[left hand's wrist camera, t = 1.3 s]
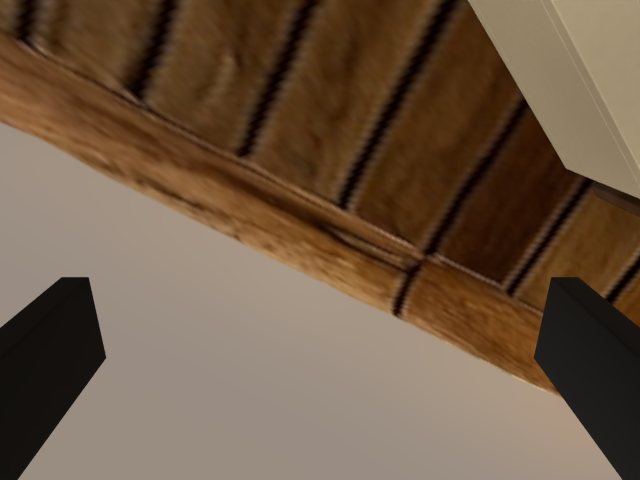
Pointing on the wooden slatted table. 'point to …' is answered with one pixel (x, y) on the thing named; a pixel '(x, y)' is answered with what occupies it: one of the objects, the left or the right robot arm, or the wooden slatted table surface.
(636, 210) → the drawer
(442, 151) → the wooden slatted table surface
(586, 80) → the cabinet
